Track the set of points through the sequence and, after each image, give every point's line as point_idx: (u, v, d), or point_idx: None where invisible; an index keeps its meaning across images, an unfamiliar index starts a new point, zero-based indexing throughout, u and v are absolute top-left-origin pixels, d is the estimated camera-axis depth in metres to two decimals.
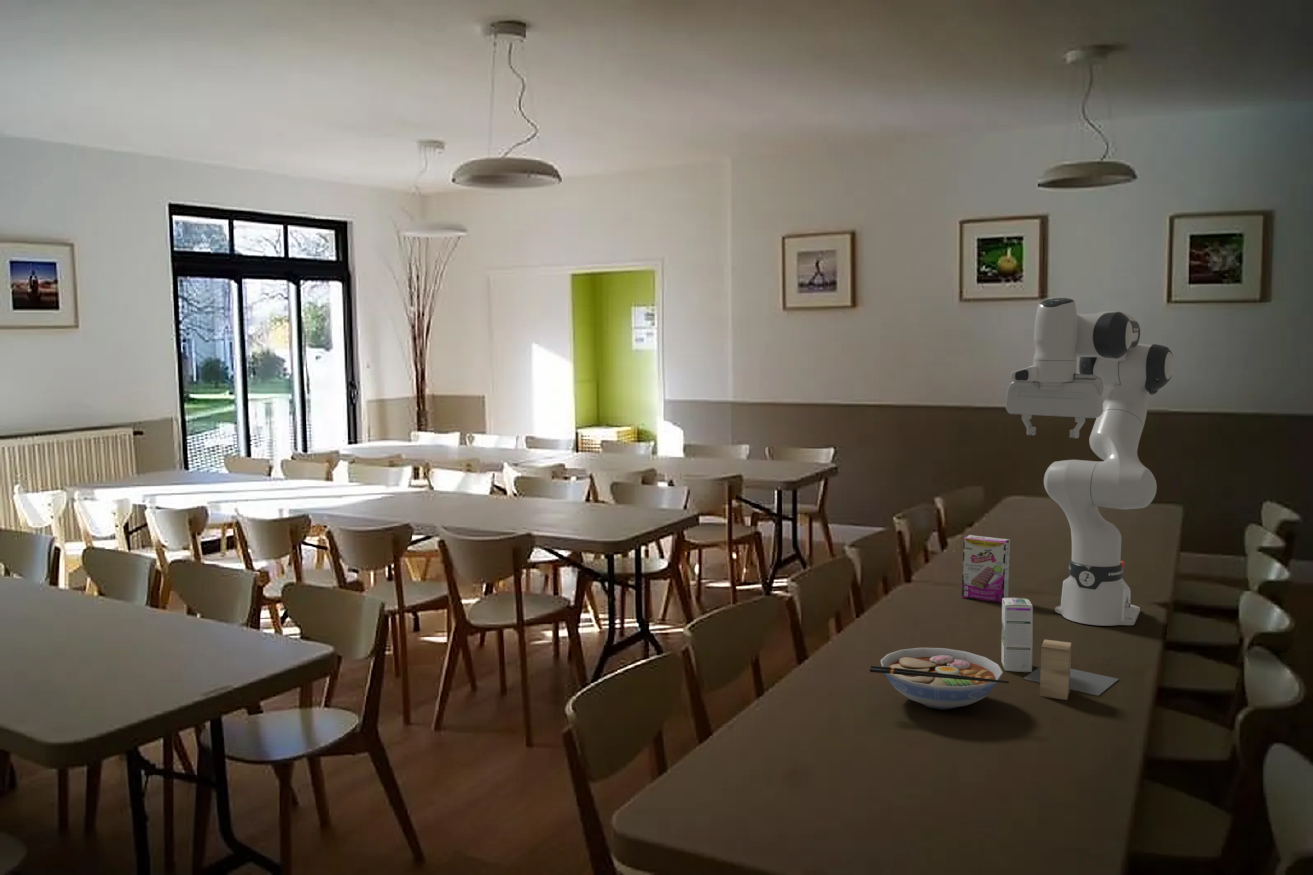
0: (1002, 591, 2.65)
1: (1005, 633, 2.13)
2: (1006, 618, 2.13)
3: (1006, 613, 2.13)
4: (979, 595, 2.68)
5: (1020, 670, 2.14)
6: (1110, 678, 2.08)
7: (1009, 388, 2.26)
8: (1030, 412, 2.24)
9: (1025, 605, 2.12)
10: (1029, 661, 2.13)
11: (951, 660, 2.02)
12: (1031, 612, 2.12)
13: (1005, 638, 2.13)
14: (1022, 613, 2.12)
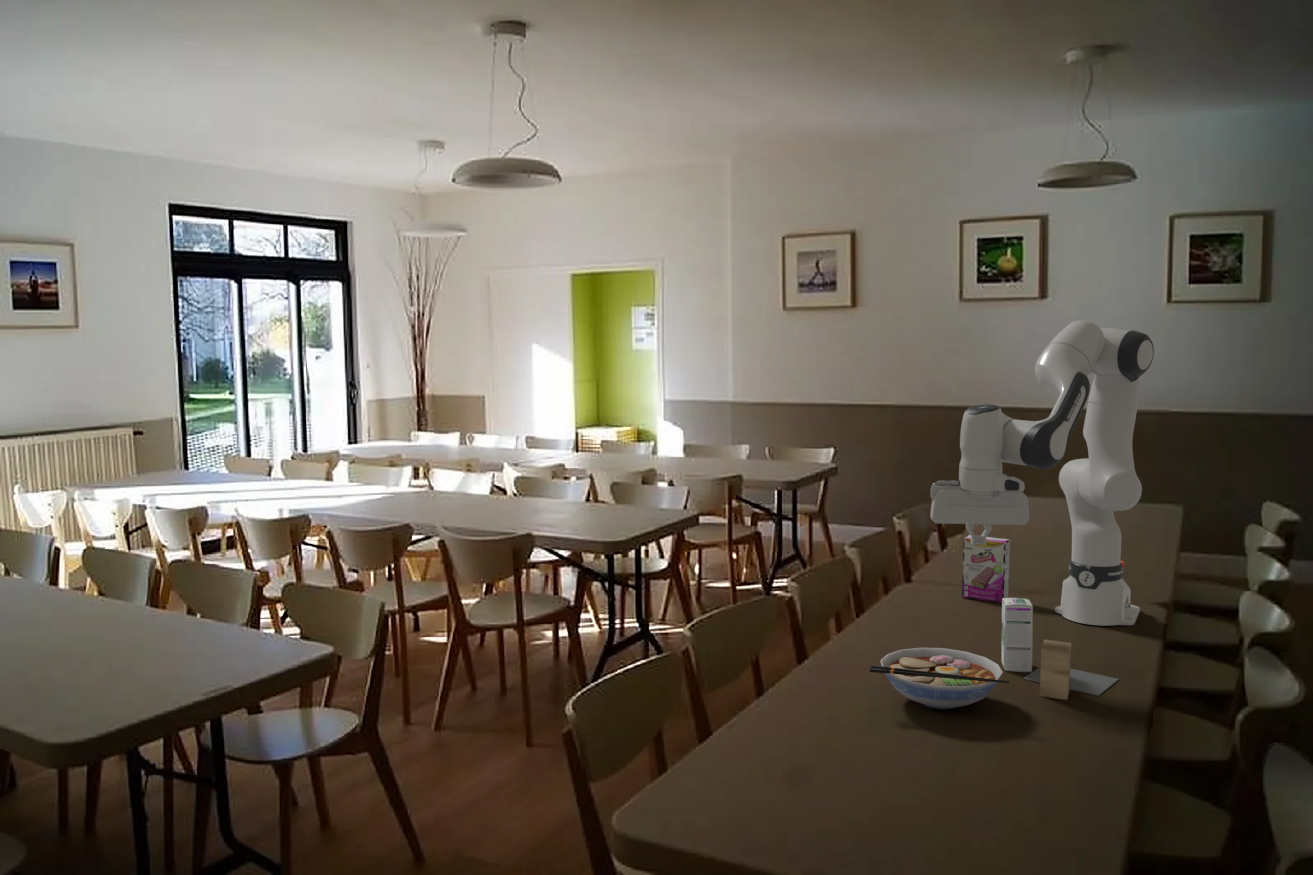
0: (1002, 591, 2.65)
1: (1005, 633, 2.13)
2: (1006, 618, 2.13)
3: (1006, 613, 2.13)
4: (979, 595, 2.68)
5: (1020, 670, 2.14)
6: (1110, 678, 2.08)
7: None
8: None
9: (1025, 605, 2.12)
10: (1029, 661, 2.13)
11: (951, 660, 2.02)
12: (1031, 612, 2.12)
13: (1005, 638, 2.13)
14: (1022, 613, 2.12)
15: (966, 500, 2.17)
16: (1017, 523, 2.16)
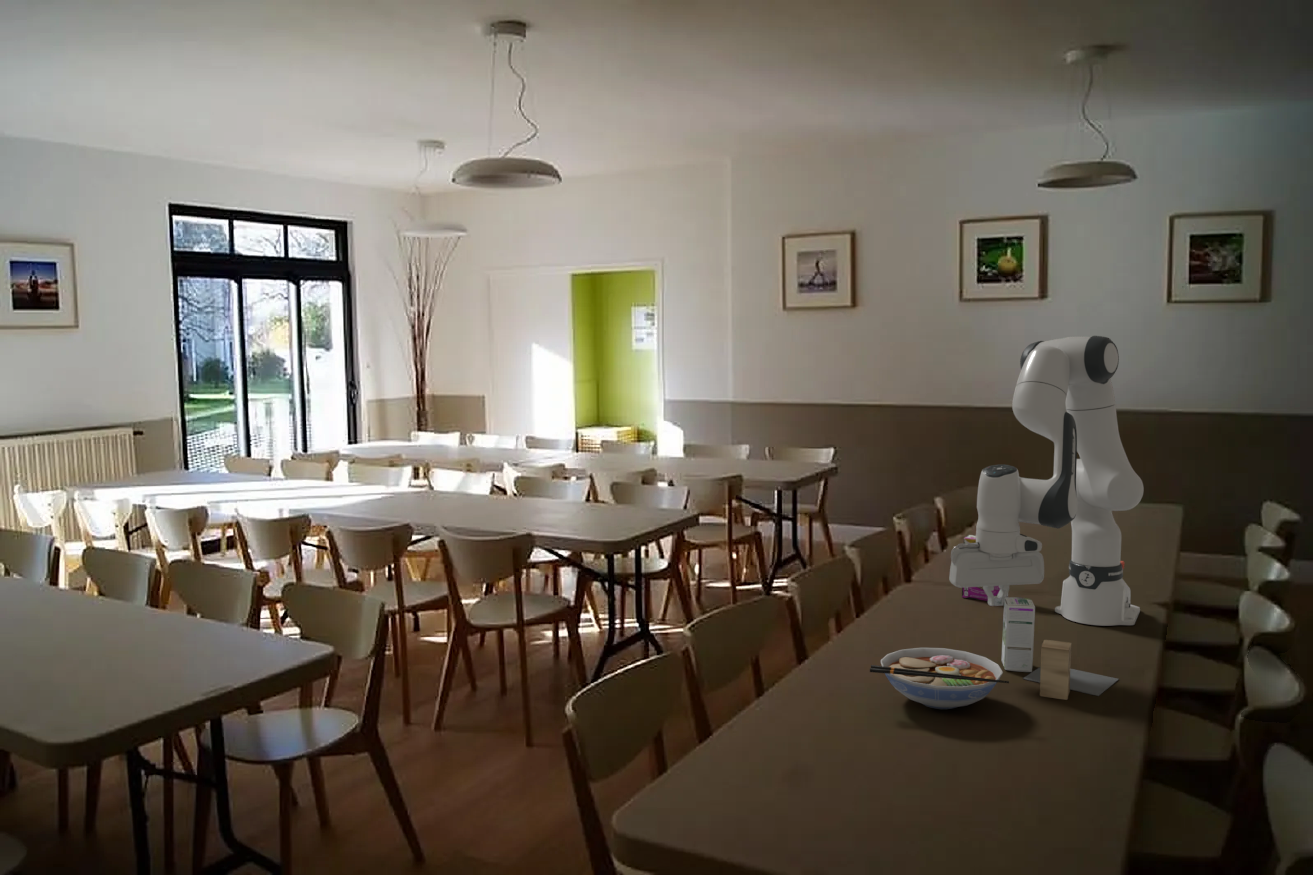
0: None
1: (1006, 633, 2.13)
2: (1008, 618, 2.13)
3: (1008, 613, 2.12)
4: (979, 595, 2.68)
5: (1020, 670, 2.14)
6: (1110, 678, 2.08)
7: None
8: None
9: (1027, 605, 2.12)
10: (1029, 661, 2.13)
11: (951, 660, 2.02)
12: (1033, 613, 2.11)
13: (1006, 638, 2.13)
14: (1024, 613, 2.12)
15: (987, 562, 2.15)
16: (1033, 582, 2.17)
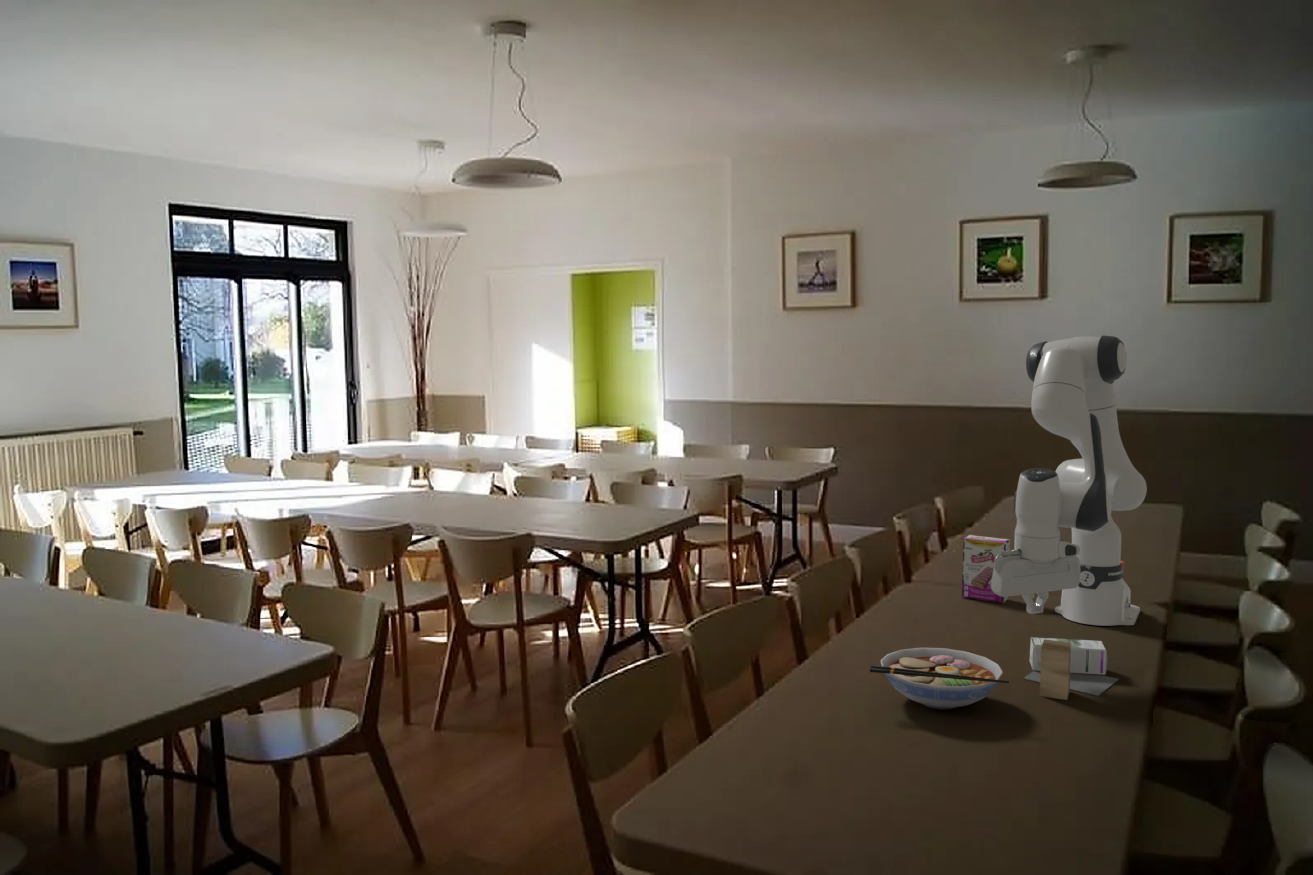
0: None
1: (1074, 648, 2.11)
2: (1091, 650, 2.10)
3: (1097, 650, 2.10)
4: (979, 595, 2.68)
5: (1034, 660, 2.13)
6: (1110, 678, 2.08)
7: None
8: None
9: (1105, 668, 2.10)
10: None
11: (951, 660, 2.02)
12: (1098, 673, 2.10)
13: None
14: (1097, 665, 2.10)
15: (1029, 569, 2.09)
16: (1070, 587, 2.13)
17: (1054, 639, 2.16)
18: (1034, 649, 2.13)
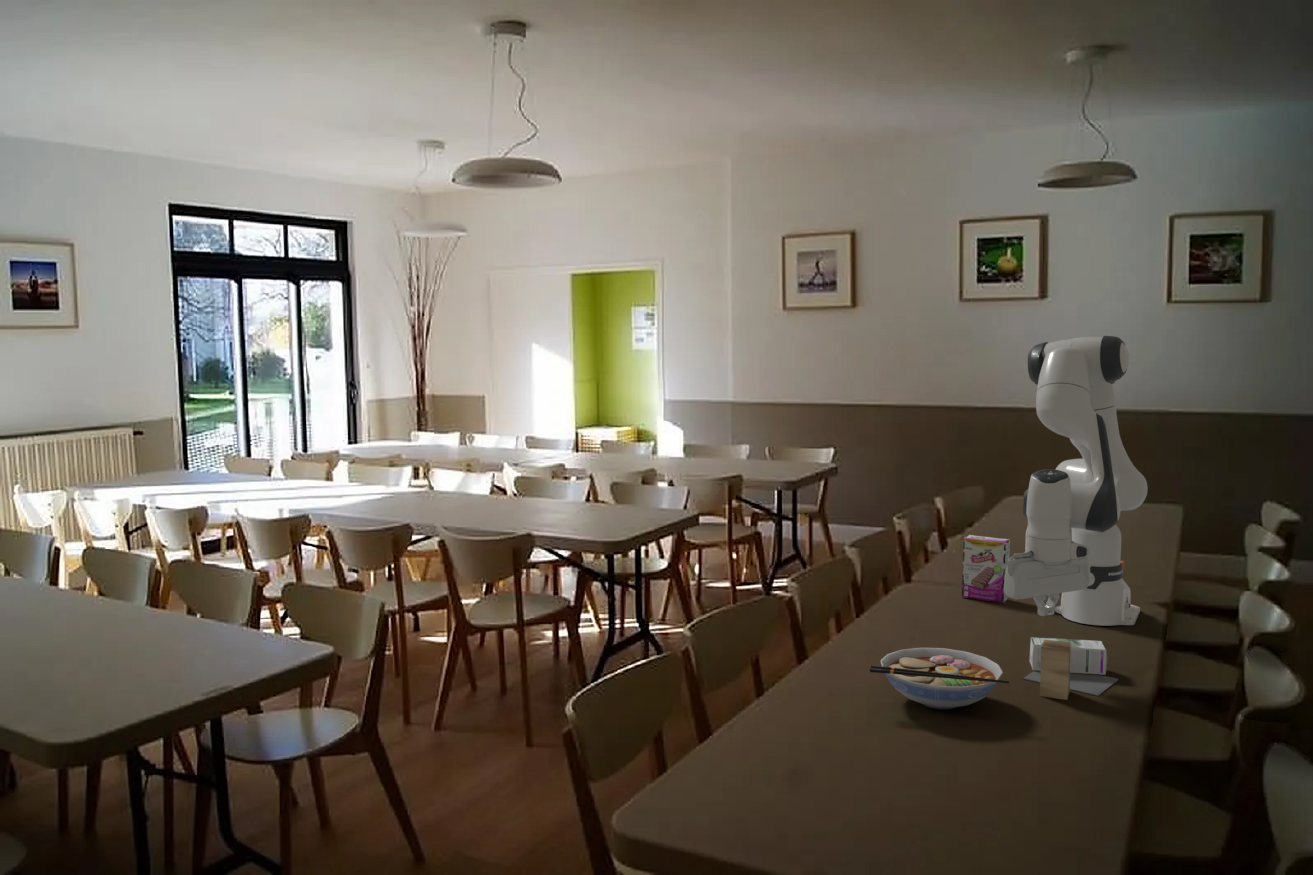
0: (1002, 591, 2.65)
1: (1074, 648, 2.11)
2: (1091, 650, 2.10)
3: (1097, 650, 2.10)
4: (979, 595, 2.68)
5: (1034, 660, 2.13)
6: (1110, 678, 2.08)
7: None
8: None
9: (1105, 668, 2.10)
10: None
11: (951, 660, 2.02)
12: (1098, 673, 2.10)
13: None
14: (1097, 665, 2.10)
15: (1041, 571, 2.07)
16: (1081, 589, 2.12)
17: (1054, 639, 2.16)
18: (1034, 649, 2.13)
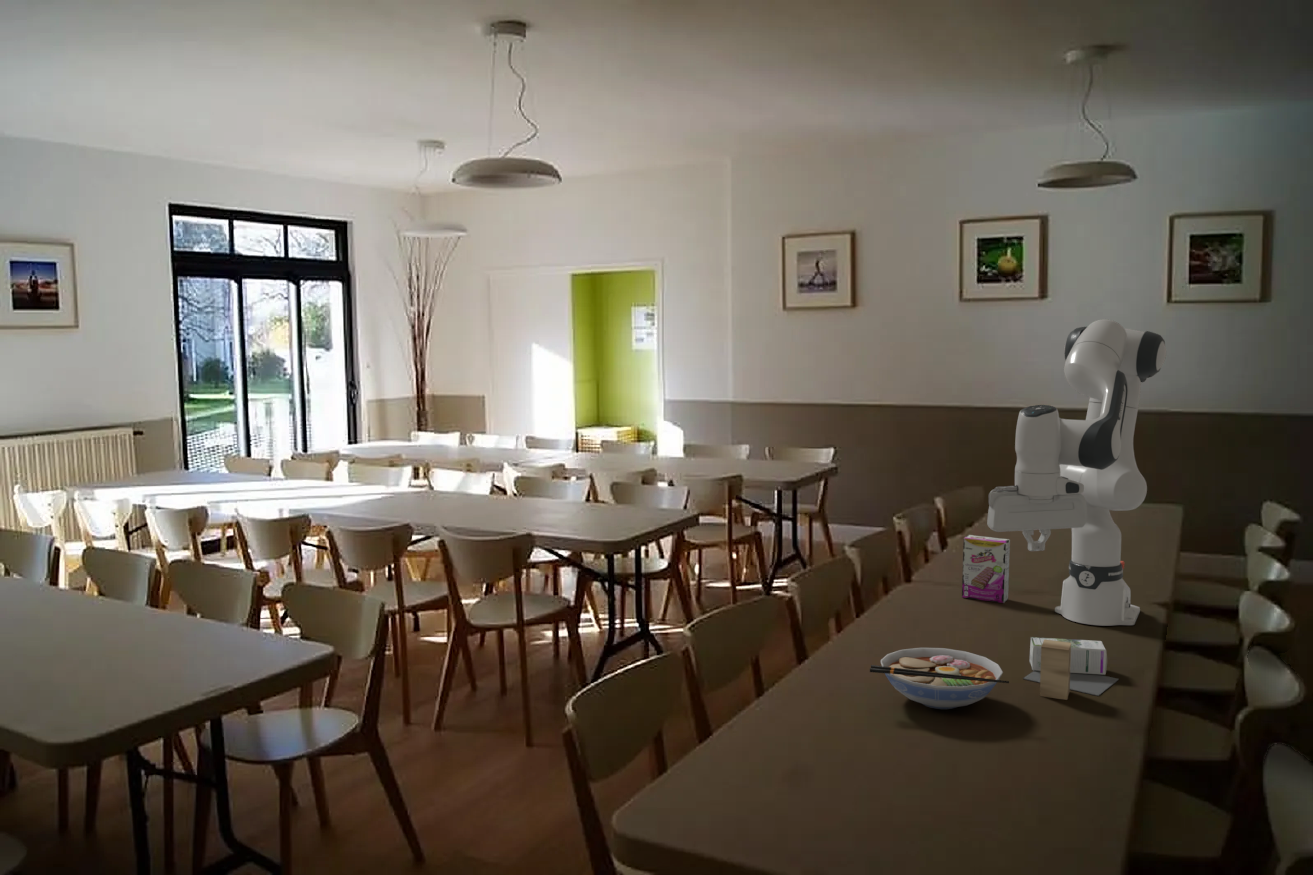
0: (1002, 591, 2.65)
1: (1074, 648, 2.11)
2: (1091, 650, 2.10)
3: (1097, 650, 2.10)
4: (979, 595, 2.68)
5: (1034, 660, 2.13)
6: (1110, 678, 2.08)
7: None
8: None
9: (1105, 668, 2.10)
10: None
11: (951, 660, 2.02)
12: (1098, 673, 2.10)
13: None
14: (1097, 665, 2.10)
15: (1026, 506, 2.08)
16: (1076, 526, 2.10)
17: (1054, 639, 2.16)
18: (1034, 649, 2.13)
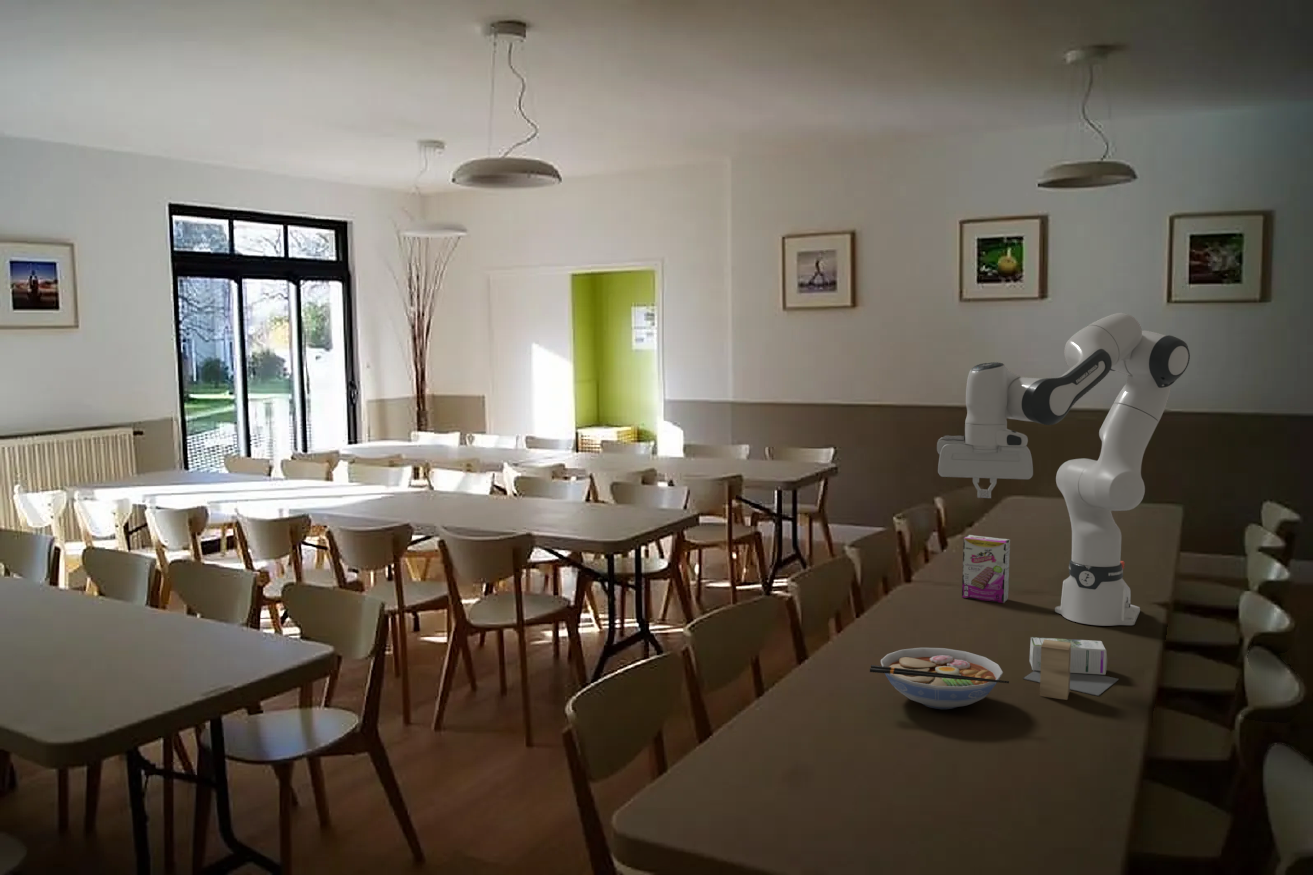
0: (1002, 591, 2.65)
1: (1074, 648, 2.11)
2: (1091, 650, 2.10)
3: (1097, 650, 2.10)
4: (979, 595, 2.68)
5: (1034, 660, 2.13)
6: (1110, 678, 2.08)
7: None
8: None
9: (1105, 668, 2.10)
10: None
11: (951, 660, 2.02)
12: (1098, 673, 2.10)
13: None
14: (1097, 665, 2.10)
15: (971, 454, 2.25)
16: (1021, 477, 2.23)
17: (1054, 639, 2.16)
18: (1034, 649, 2.13)
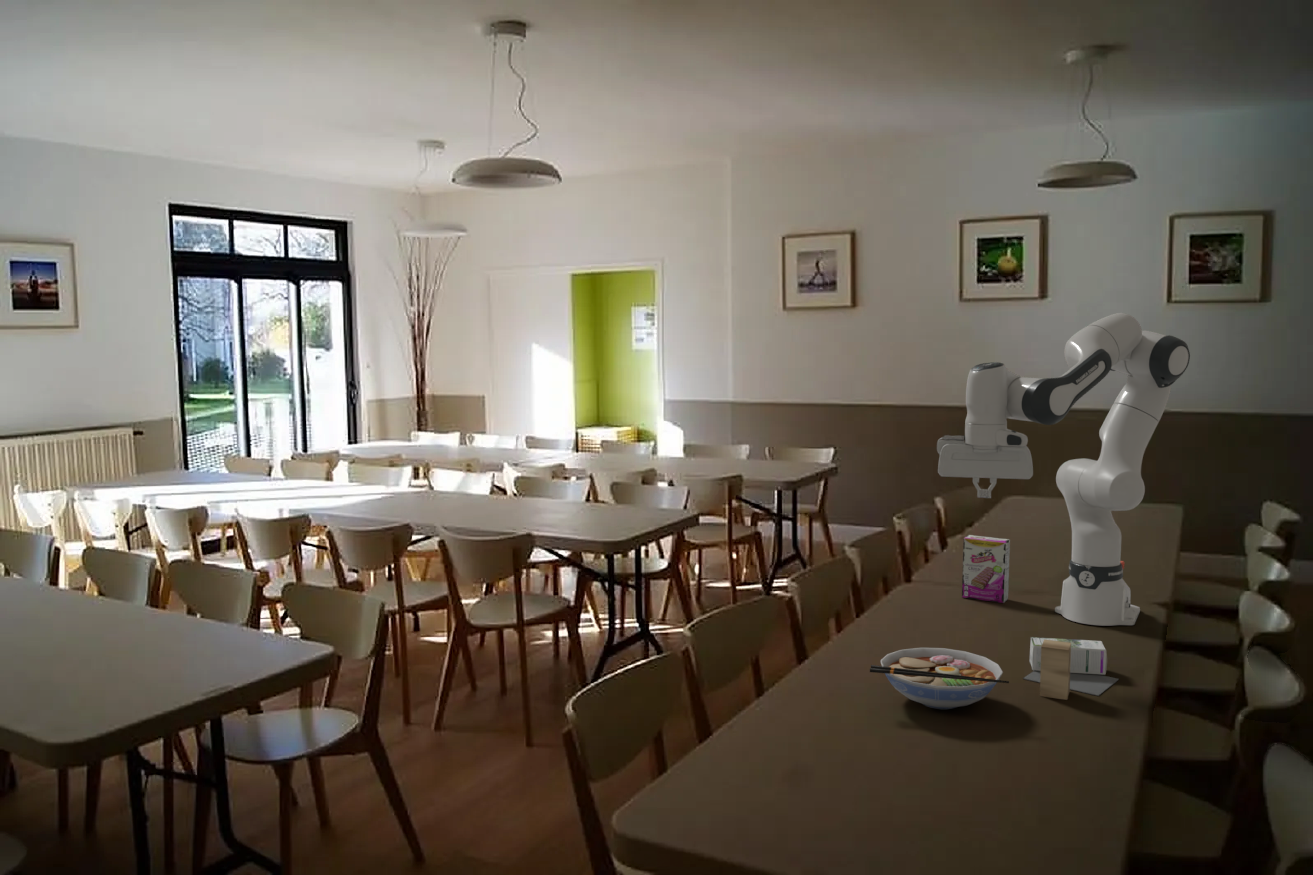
0: (1002, 591, 2.65)
1: (1074, 648, 2.11)
2: (1091, 650, 2.10)
3: (1097, 650, 2.10)
4: (979, 595, 2.68)
5: (1034, 660, 2.13)
6: (1110, 678, 2.08)
7: None
8: None
9: (1105, 668, 2.10)
10: None
11: (951, 660, 2.02)
12: (1098, 673, 2.10)
13: None
14: (1097, 665, 2.10)
15: (971, 454, 2.26)
16: (1021, 477, 2.23)
17: (1054, 639, 2.16)
18: (1034, 649, 2.13)
